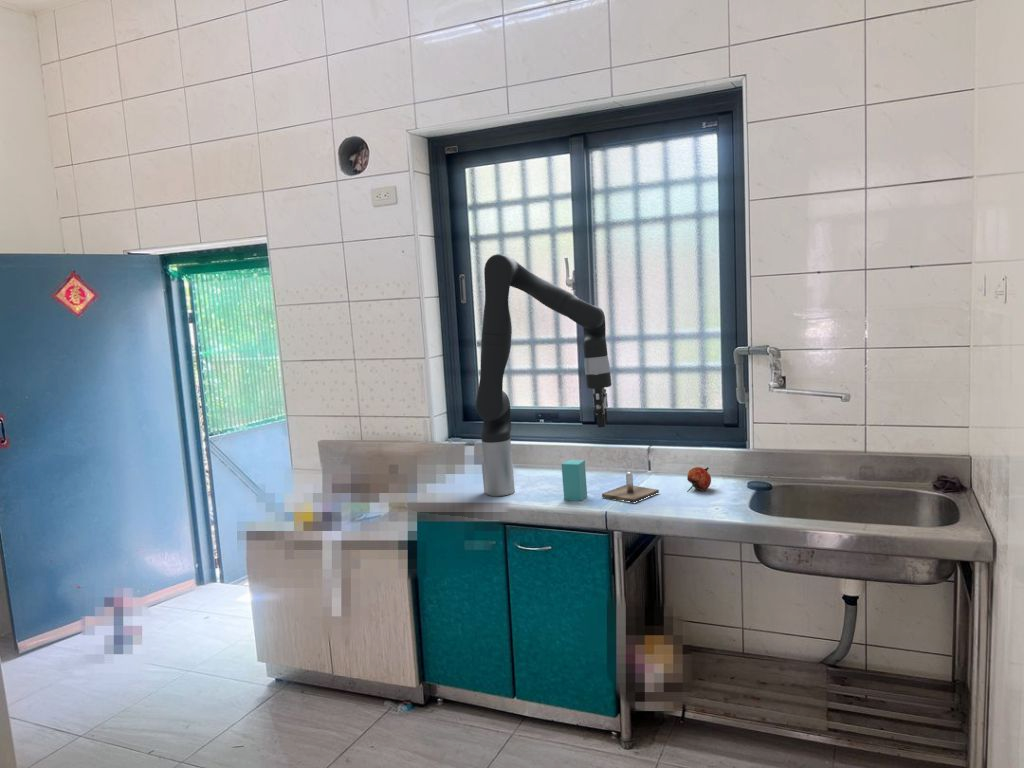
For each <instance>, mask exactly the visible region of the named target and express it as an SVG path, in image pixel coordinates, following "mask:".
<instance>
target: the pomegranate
mask: <svg viewBox="0 0 1024 768" xmlns="http://www.w3.org/2000/svg"><path fill="white" fill-rule="evenodd" d="M709 469H710V468H709V467H708V466H707V467H706V468H703V467H699V466H696V467H695V466H694V467H692V468H691V469H690V470H689V471H688V472H687V479H686V480H687V482H689V483H690V484H691V486H690V488H689V489H688V490H687V491H686V493H689V492H690V490H692V489H693V488H694V489H696V490H700V491H706V490H707V489H709V487H710V486H711V483H712V477H711V474H710V473H709V472H708V470H709Z"/></svg>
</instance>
